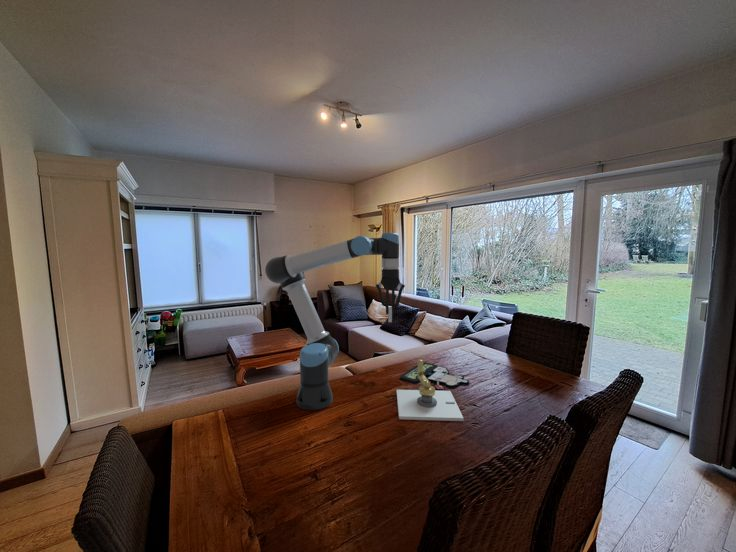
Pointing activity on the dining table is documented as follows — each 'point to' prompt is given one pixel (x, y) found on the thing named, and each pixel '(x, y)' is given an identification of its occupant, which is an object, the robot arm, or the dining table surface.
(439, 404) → the post board
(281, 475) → the dining table surface
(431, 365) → the sign
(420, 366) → the brass lever knob
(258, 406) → the dining table surface
